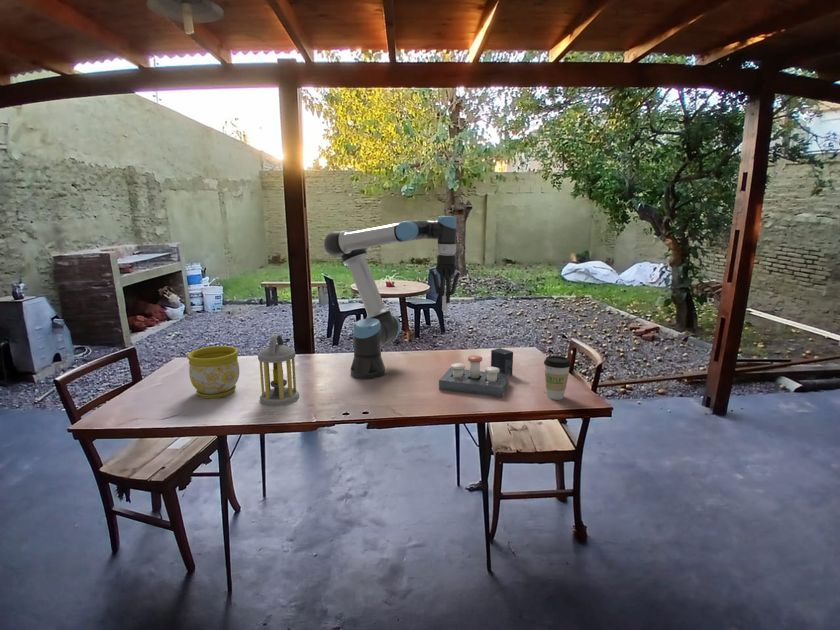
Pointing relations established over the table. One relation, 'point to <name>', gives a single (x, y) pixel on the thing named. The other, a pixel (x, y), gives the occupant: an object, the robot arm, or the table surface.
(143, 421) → the table surface
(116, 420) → the table surface
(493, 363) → the box
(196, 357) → the flowerpot
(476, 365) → the knob mid
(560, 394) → the coffee cup
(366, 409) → the table surface
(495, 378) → the knob
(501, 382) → the mount
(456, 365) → the knob
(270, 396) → the lantern
